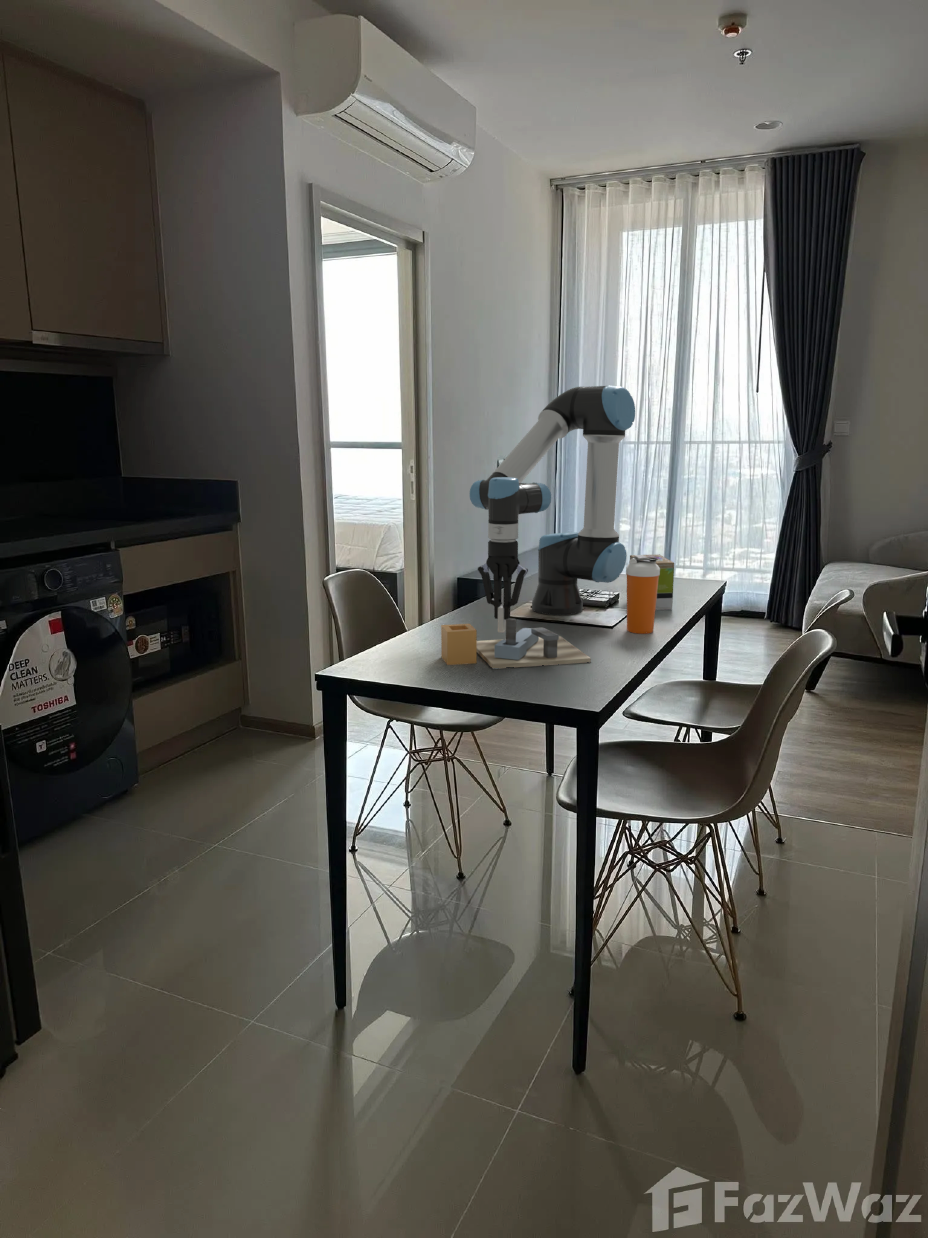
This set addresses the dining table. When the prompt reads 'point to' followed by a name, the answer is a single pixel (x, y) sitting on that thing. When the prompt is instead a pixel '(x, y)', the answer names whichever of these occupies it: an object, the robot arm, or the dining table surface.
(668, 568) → the tea box
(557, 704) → the dining table surface
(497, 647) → the link
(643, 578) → the shaker bottle
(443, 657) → the collar
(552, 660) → the pintle base
